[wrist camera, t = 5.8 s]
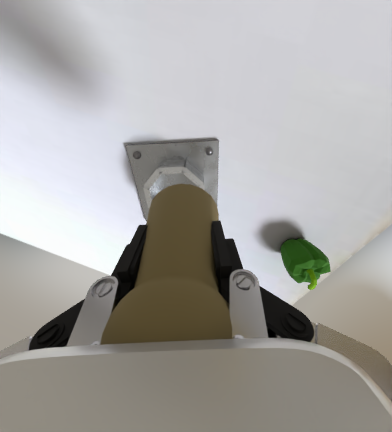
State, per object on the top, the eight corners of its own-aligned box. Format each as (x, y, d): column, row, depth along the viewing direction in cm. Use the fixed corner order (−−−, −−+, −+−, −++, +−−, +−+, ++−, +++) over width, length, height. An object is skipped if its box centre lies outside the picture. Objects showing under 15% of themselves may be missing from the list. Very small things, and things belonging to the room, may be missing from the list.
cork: (146, 236, 15) (73, 425, 6) (153, 175, 12) (25, 368, 3) (207, 247, 16) (227, 427, 7) (228, 193, 13) (316, 384, 4)
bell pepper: (291, 227, 36) (319, 263, 28) (317, 239, 38) (351, 275, 30) (267, 251, 41) (285, 289, 32) (292, 261, 43) (315, 298, 34)
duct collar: (127, 145, 27) (115, 151, 23) (218, 140, 26) (222, 145, 22) (146, 219, 35) (140, 233, 31) (216, 216, 35) (219, 230, 31)
